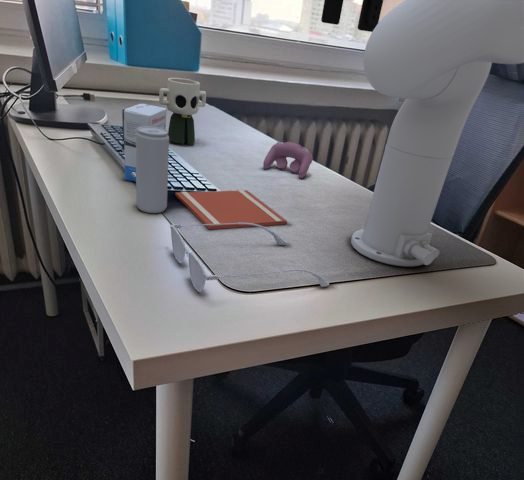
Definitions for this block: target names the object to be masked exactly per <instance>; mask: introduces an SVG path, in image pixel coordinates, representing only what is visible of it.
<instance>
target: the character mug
mask: <svg viewBox="0 0 524 480" xmlns="http://www.w3.org/2000/svg"><path fill="white" fill-rule="evenodd" d="M158 91H159V94H158V96H159V97H158V98H159V99H158V102H159V104H160V105H161V106H162V105H163V106H166V109H167V110H168V111H169V112H171V113H172V114H171V115H170V118H169V124H168V130H167V131H168V136H169V141H170V142H173V143H176V144H185V143H186V144H189V145H190V144H194V143H195V142H196V134H195V133H196V132H195V131H196V130H195V120H194V117H193V115H197V113H198V112H199V110H200V108H204V107H205V106H206V104H207V103H206V102H207V92H206V91H205V90H201V83H200V82H199V81H197V80H193V79H189V78H182V77H168V78H167V82H166V88H165V87H161V88H159V90H158ZM164 94H166V99H165V96H164ZM200 96H201V101H200Z"/></svg>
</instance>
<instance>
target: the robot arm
mask: <svg viewBox="0 0 524 480" xmlns="http://www.w3.org/2000/svg"><path fill="white" fill-rule="evenodd" d="M383 3H384V0H362V4H361V8H360V13H359V17H358V23H357V30H358V31H363V32H368V33H370V35H369V37H368V40H367V42H366V45H365V49H364V54H363V69H364V70H363V71H364V75H365V77H366V79H367V82H368V83H369V84H370V86H371V87H372V89H374V90H375V91H377V92H378V93H379V94H381V95H383V96H386V97H389V98H396V99H405V100H404V101H403V103H402V104H401V106H400V107H399V109H398V111H397V113H396V115H395V116H394V119H393V121H392V123H391V126H390V130H389V133H388V136H387V140H386V143H385V146H384V147H385V148H384V150H383V155H382V158H381V163H380V166H379V170H378V173H377V178H376V182H375V185H374V190H373V193H372V196H371V201H370V203H369V204H370V205H369V208H368V212H367V215H366V216H367V217H366V220H365V223H364V227H363V228H361V229H357V230H355V231H354V232H353V233H352V236H351V239H350V243H351V246H352V247H353V248H354V250H356V251H357V252H358V253H359V254H361V255H363V257H366V258H368V259H371V260H374V261H376V262H378V263H382V264H386V265H391V266H396V267H405V268H406V267H409V268H410V267H419V266H422V265H425V266H429V265H431V264H432V263H433V262H434V260H435V259H437V258H438V257H439V256H440V250H439V249H437V248H436V247H434V246H432V245H430V243H431V241H432V237H433V233H431V232H430V231H429V229H430V226H431V223H432V220H433V217H434V214H435V212H436V211H435V210H436V208H437V205H438V202H439V200H440V196H441V193H442V190H443V187H444V184H445V181H446V179H447V177H448V174H449V171H450V167H451V164H452V161H453V157H454V155H455V152H456V149H457V147H458V144H459V141H460V139H461V135H462V133H463V130H464V127H465V125H466V122H467V120H468V118H469V115H470V113H471V111H472V109H473V108H474V105H475V103H476V101H477V99H478V97H479V96H480V94H481V91H482V90H483V87H485V84H486V82H487V80H488V77H489V75H490V72H491V69H492V65H493V64H500V65H501V64H502V65H519V64H520V65H521V64H524V0H403V1H401V2H400V3H399V4H397V5H396V6H395V7H393V8H392V9H391V10H389V11H388V12H387V13H386V14H385V15H384V16H383V17H382V18H381V13H382V8H383ZM343 4H344V0H324V2H323V7H322V12H321V18H320V21H321V23H323V24H330V25H339V24H340V21H341V15H342V10H343ZM380 18H381V19H380Z"/></svg>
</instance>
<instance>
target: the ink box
mask: <svg viewBox="0 0 524 480" xmlns="http://www.w3.org/2000/svg"><path fill="white" fill-rule="evenodd" d="M124 109H125V111H124V148H125V150H124V180H125V181H131V182H134V183H136V177H133V176H132V175H131V173H132V172H136V133H137V132H138V131H137V128H138V127H143V126H150V127H158V128H162V129H165V130H167V110H168V109H167V107H162V106H157V105H152V104H148V103H138V104H135V105H133V106H129V107H126V108H124Z"/></svg>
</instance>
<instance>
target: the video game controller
mask: <svg viewBox="0 0 524 480" xmlns="http://www.w3.org/2000/svg"><path fill="white" fill-rule="evenodd" d="M287 158H291V159H294V160H292V161H291V162H290V164H288V160H287ZM313 158H314V156H313V154H312V153H311V152H310V150H308V148H307V147H305V146H303V145H301V144H300V143H295V142H293V141H285V142H283V141H277V142H275V144H273V145H272V146H271V147H270V149H269V151H268V152H267V154H266V155H265V158H264V159H263V165H262V166H263V169H264V170H266V169H267V170H268V169H269V168H270V167H271V166H272V165H273V164H274V162H276V166H277V168H278V169H280V170H285V169H287V167H288V165H289V169H290V171H291V172H292V173H294V174H298V177H299V179H303V178H304V177H306V175H307V173H308V171H309V169H310V166H311V164H313V160H314V159H313Z"/></svg>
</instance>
